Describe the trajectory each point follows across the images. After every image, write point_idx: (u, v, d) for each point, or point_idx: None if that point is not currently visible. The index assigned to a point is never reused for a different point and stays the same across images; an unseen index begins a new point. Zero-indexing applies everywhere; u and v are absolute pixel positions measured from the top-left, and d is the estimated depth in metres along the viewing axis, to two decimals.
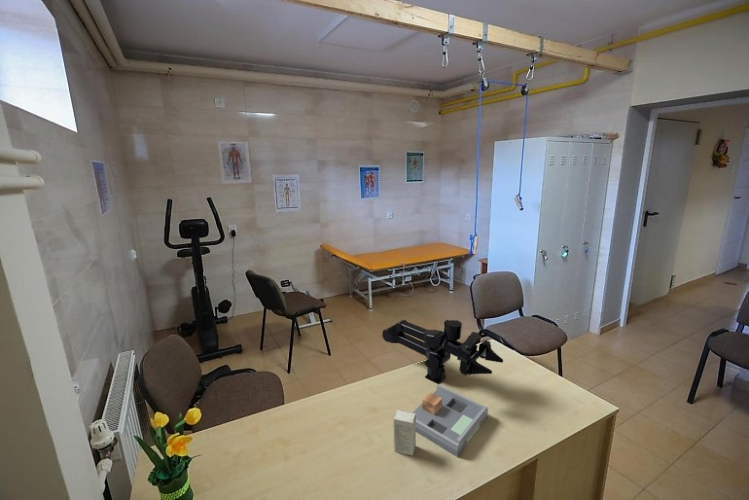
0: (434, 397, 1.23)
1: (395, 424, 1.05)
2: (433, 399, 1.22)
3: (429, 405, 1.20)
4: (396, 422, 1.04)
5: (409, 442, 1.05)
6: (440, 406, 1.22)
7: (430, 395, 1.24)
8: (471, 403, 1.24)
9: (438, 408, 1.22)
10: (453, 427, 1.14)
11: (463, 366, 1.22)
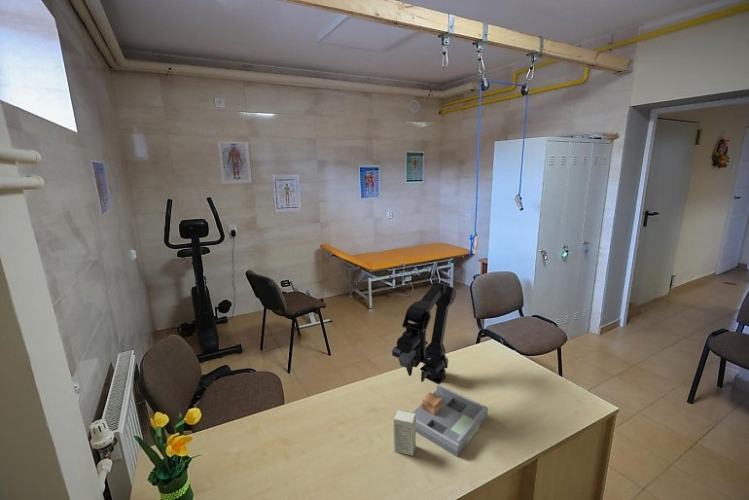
0: (434, 397, 1.23)
1: (395, 424, 1.05)
2: (433, 399, 1.22)
3: (429, 405, 1.20)
4: (396, 422, 1.04)
5: (409, 441, 1.05)
6: (440, 406, 1.22)
7: (430, 395, 1.24)
8: (471, 403, 1.24)
9: (438, 408, 1.22)
10: (453, 427, 1.14)
11: None
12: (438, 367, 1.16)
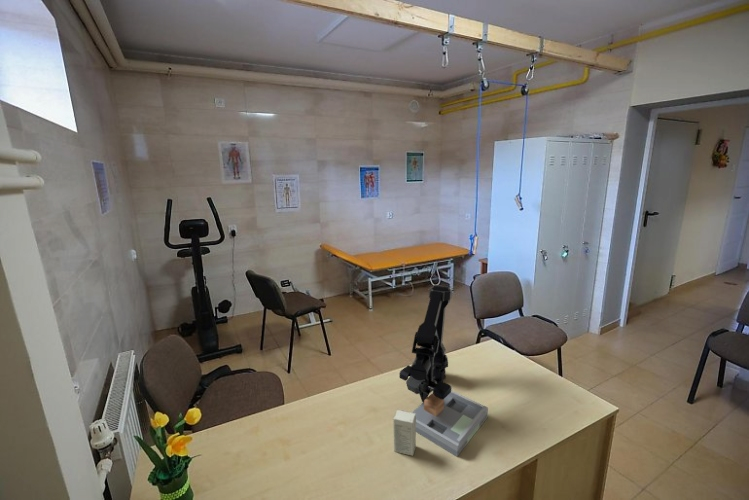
0: (436, 398, 1.22)
1: (395, 424, 1.05)
2: (435, 400, 1.21)
3: (431, 407, 1.20)
4: (396, 422, 1.04)
5: (409, 441, 1.05)
6: (442, 407, 1.22)
7: (432, 396, 1.23)
8: (471, 403, 1.24)
9: (440, 409, 1.21)
10: (453, 427, 1.14)
11: None
12: (446, 392, 1.16)
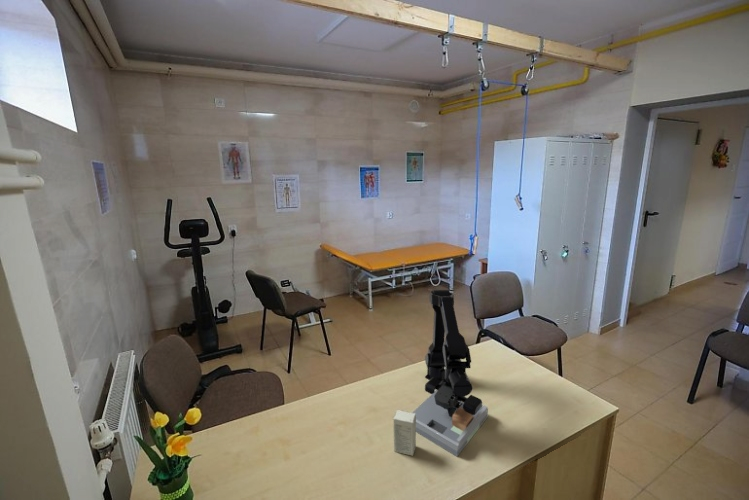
0: (465, 413, 1.15)
1: (395, 424, 1.05)
2: (464, 415, 1.14)
3: (461, 422, 1.13)
4: (396, 422, 1.04)
5: (409, 441, 1.05)
6: None
7: (460, 410, 1.16)
8: None
9: None
10: (453, 427, 1.14)
11: None
12: (477, 407, 1.09)
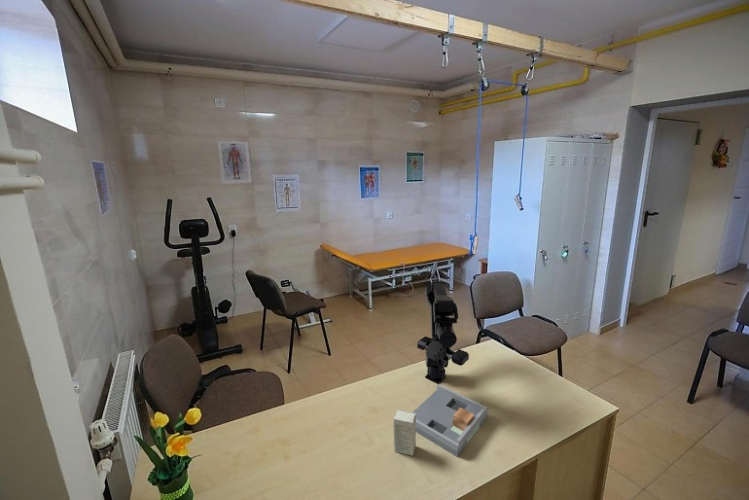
0: (466, 413, 1.15)
1: (395, 424, 1.05)
2: (465, 415, 1.14)
3: (461, 422, 1.12)
4: (396, 422, 1.04)
5: (409, 441, 1.05)
6: None
7: (461, 411, 1.16)
8: (471, 403, 1.24)
9: None
10: (453, 427, 1.14)
11: None
12: (464, 358, 1.20)
